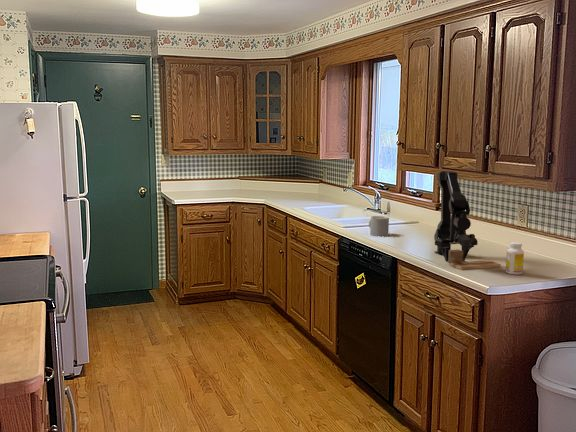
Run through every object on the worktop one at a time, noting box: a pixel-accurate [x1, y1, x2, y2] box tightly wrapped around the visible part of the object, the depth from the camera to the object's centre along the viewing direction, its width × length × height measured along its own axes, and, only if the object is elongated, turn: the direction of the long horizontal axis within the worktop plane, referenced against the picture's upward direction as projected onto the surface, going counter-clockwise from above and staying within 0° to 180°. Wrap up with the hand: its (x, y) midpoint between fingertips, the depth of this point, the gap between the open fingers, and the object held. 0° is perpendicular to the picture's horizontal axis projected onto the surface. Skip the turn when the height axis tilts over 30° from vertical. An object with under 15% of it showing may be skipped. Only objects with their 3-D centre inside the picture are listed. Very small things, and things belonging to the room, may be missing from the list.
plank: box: [450, 259, 501, 271], centre depth 260 cm, size 8×20×1 cm, turn 109°
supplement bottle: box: [505, 241, 525, 276], centre depth 247 cm, size 7×7×13 cm
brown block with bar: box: [447, 248, 469, 265], centre depth 261 cm, size 10×5×6 cm, turn 19°
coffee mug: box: [368, 215, 390, 237], centre depth 332 cm, size 13×10×10 cm
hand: (455, 261), depth 264 cm, fingers open, 8 cm apart
